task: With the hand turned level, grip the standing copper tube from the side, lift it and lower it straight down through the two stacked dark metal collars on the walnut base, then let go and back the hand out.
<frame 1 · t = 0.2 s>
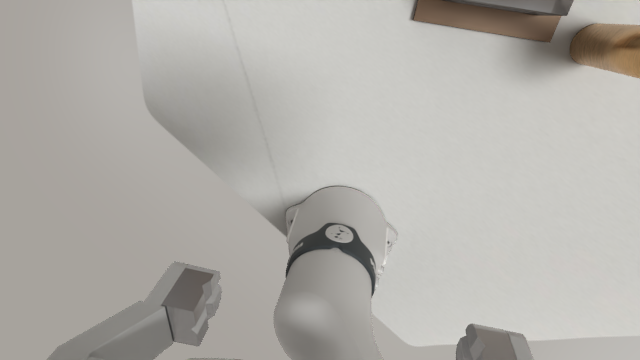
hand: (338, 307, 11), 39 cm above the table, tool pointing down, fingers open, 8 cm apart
copper tube: (591, 44, 40), on the table
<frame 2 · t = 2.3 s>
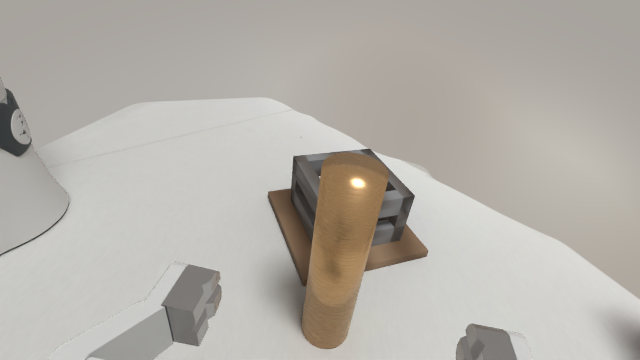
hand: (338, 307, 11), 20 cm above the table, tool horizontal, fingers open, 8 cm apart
collar stand: (341, 224, 45), on the table
copper tube: (325, 326, 32), on the table
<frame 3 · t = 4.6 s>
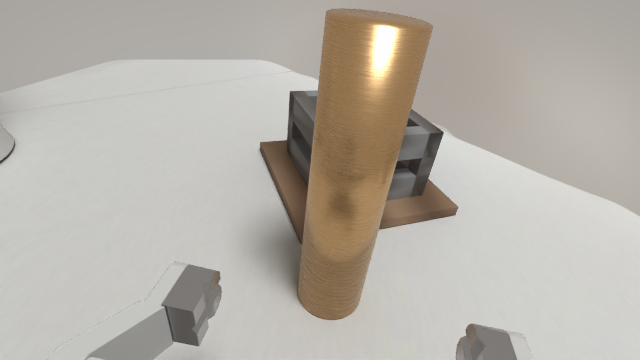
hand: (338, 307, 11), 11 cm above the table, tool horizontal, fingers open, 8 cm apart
collar stand: (348, 179, 37), on the table
copper tube: (328, 291, 24), on the table
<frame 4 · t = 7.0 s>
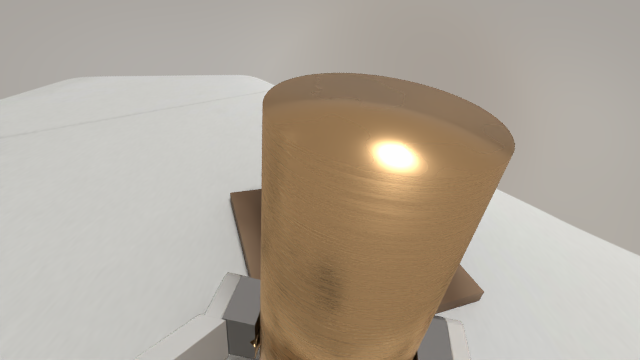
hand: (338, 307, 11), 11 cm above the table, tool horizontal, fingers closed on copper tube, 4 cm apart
collar stand: (340, 245, 29), on the table
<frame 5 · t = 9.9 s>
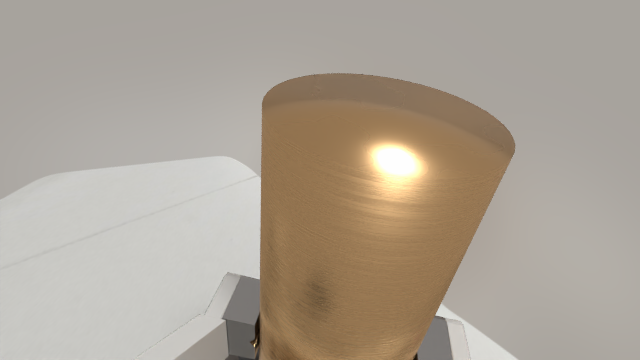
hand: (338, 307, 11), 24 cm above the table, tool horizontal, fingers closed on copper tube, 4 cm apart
when the fingers open (13 cm above the table, at t = 12.9 s): copper tube drops 2 cm, resting on collar stand.
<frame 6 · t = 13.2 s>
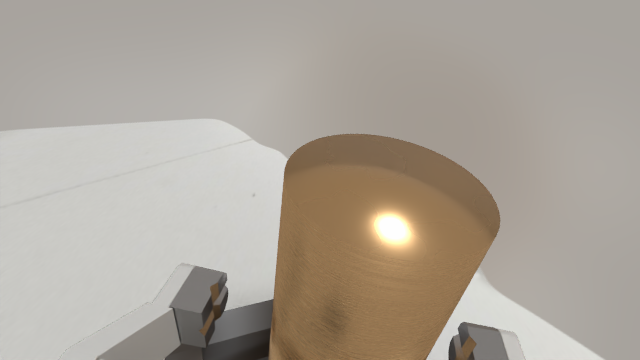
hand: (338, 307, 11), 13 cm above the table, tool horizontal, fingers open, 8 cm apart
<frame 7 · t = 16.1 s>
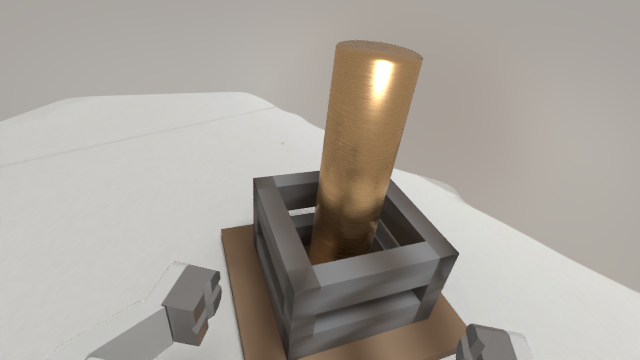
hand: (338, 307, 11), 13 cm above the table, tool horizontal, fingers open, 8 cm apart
collar stand: (332, 285, 28), on the table
copper tube: (333, 278, 28), point 1 cm above the table, touching collar stand
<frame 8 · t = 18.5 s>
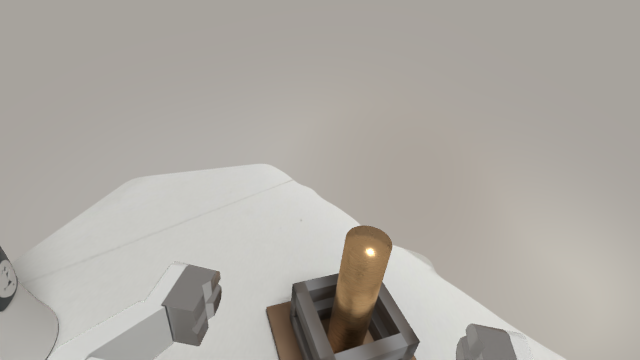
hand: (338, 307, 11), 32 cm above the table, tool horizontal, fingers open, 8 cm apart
collar stand: (342, 349, 43), on the table
copper tube: (343, 345, 42), point 1 cm above the table, touching collar stand
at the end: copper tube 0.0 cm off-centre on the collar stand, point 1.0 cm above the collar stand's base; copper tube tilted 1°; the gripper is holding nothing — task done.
